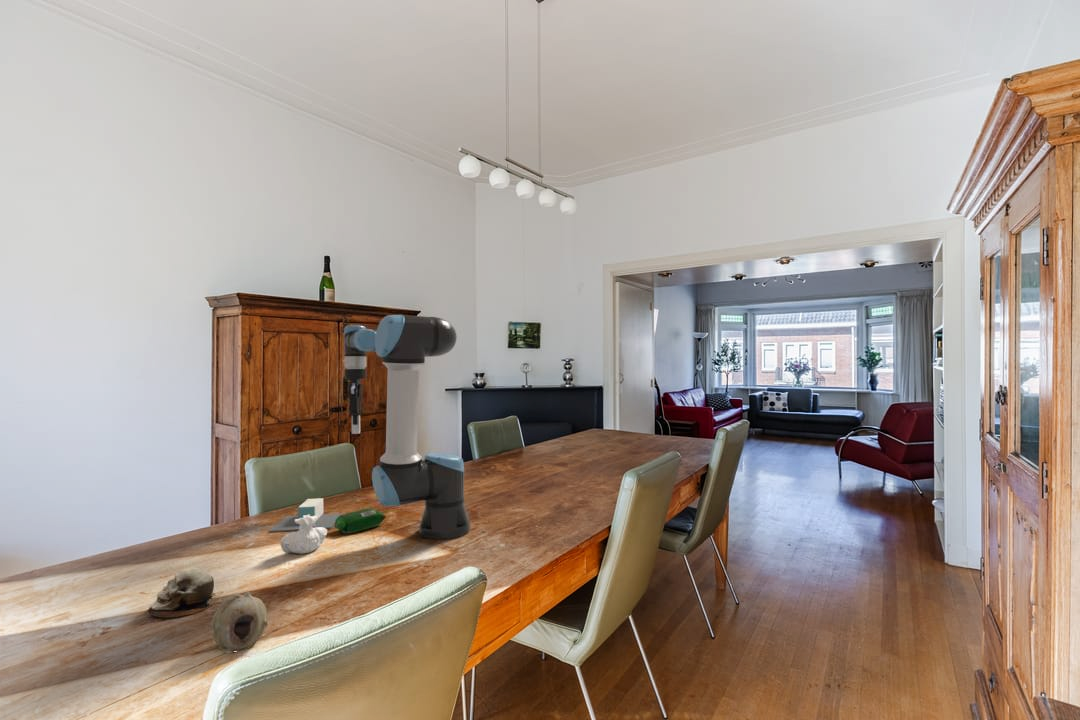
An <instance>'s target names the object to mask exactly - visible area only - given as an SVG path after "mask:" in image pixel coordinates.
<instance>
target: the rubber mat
mask: <svg viewBox="0 0 1080 720" xmlns="http://www.w3.org/2000/svg"><path fill="white" fill-rule="evenodd" d="M343 514H344V513H343V512H341V513H340V512H339V513H323V514H322V515H321V516H320V517H319V518H318V519H317V520H316V521H315V526H312V528H316V527H323V528H325V529H327V530H332V528H333V527H334V525H335V521H336V519H337V518H338V517H339V516H340V515H343ZM295 519H298V514H297V515H285V516H284V517H283V518H282V519H280V520H279V521H278V522H277V523H276V524H274V526H273V527H271V528H270V529H269V530H268V533H281V532H283V533H284V532H297V531H299V530H300V529H299V527H300V524H298V523H296V522H295V521H294V520H295Z"/></svg>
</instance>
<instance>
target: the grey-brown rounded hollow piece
mask: <svg viewBox="0 0 1080 720" xmlns="http://www.w3.org/2000/svg"><path fill="white" fill-rule="evenodd" d="M268 619H269V617H268V609H267V607H266V605H265V604H264V601H263V600H261V598H258V597H257V596H256V597H255V596H253V595H252V593H251V592H250V591H247V592H245V593H243V594H239V593H234V594H232V595H231V596H229V597H228V598H226V599H225V600H224V601H223V602H222V603H221V604H220V606H219V607H218V608H217V610H216V611H215V613H214V615H213V617H212V620H211V626H212V630H213V634H212V638H213V641H214V642H215V643H216V644H217V645H216V646H217V647H218V648H219V649H220V650H223V652H224V653H226V654H233V653H232V652H234V651H238V650H240V651H242V650H241V649H243V650H245V649H244V648H246V649H249V648H251V647H252V646H253V644H254V643H255V642H256V641H258V640H259V639H260V638H261V637H262V636H263V633H264V631H265V629H266V628H267V627H268V626H269V623H270V621H268ZM250 646H251V647H250ZM248 647H249V648H248ZM238 652H239V651H238Z"/></svg>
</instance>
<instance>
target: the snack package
mask: <svg viewBox="0 0 1080 720" xmlns="http://www.w3.org/2000/svg"><path fill="white" fill-rule="evenodd" d="M386 516H387V515H386V514H384V513H383V512H381V511H378V510H376V509H374V508H364V509H359V510H356V511H352V512H347V513H343V515H340V516H339V517H338V518H337V519H336V521H335V525H334V526H333V527H334V528H336V529H338V531H339V532H342V533H343V534H345V535H346V534H347V535H351V534H353V533H357V532H361V531H365V530H369V529H372V528H373V529H374V528H375V527H378V526H379V525H381V523H383V521H384V520H385V519H386ZM350 533H351V534H350Z"/></svg>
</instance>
